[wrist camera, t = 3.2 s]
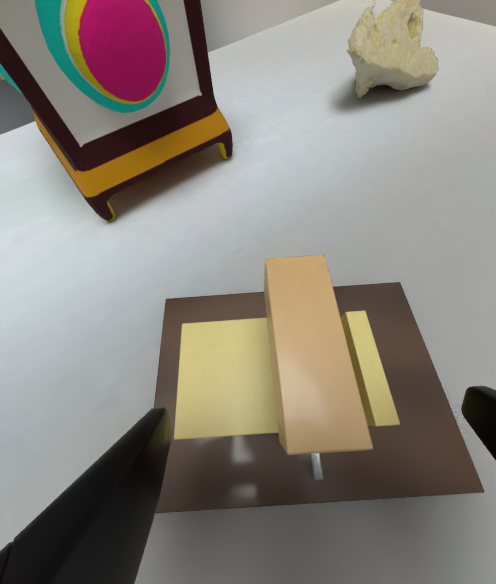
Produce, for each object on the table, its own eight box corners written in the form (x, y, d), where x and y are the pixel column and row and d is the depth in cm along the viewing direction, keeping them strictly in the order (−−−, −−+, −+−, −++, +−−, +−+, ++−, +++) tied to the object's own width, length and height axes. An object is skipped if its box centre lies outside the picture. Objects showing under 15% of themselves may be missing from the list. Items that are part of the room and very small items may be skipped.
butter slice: (363, 420, 15) (400, 424, 11) (345, 422, 15) (376, 426, 11) (341, 332, 18) (365, 310, 14) (326, 333, 18) (345, 311, 14)
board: (471, 487, 14) (485, 492, 14) (148, 508, 15) (141, 514, 14) (394, 287, 21) (400, 281, 20) (169, 303, 21) (165, 298, 20)
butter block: (331, 422, 15) (357, 427, 11) (195, 432, 15) (173, 439, 11) (314, 334, 18) (330, 312, 14) (198, 342, 18) (181, 323, 14)
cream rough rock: (397, 79, 41) (346, -6, 33) (449, 44, 34) (400, -70, 27) (369, 155, 39) (309, 83, 32) (418, 133, 33) (357, 37, 25)
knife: (311, 447, 13) (388, 501, 5) (272, 449, 13) (292, 507, 5) (291, 314, 17) (319, 232, 9) (260, 316, 17) (262, 236, 9)
